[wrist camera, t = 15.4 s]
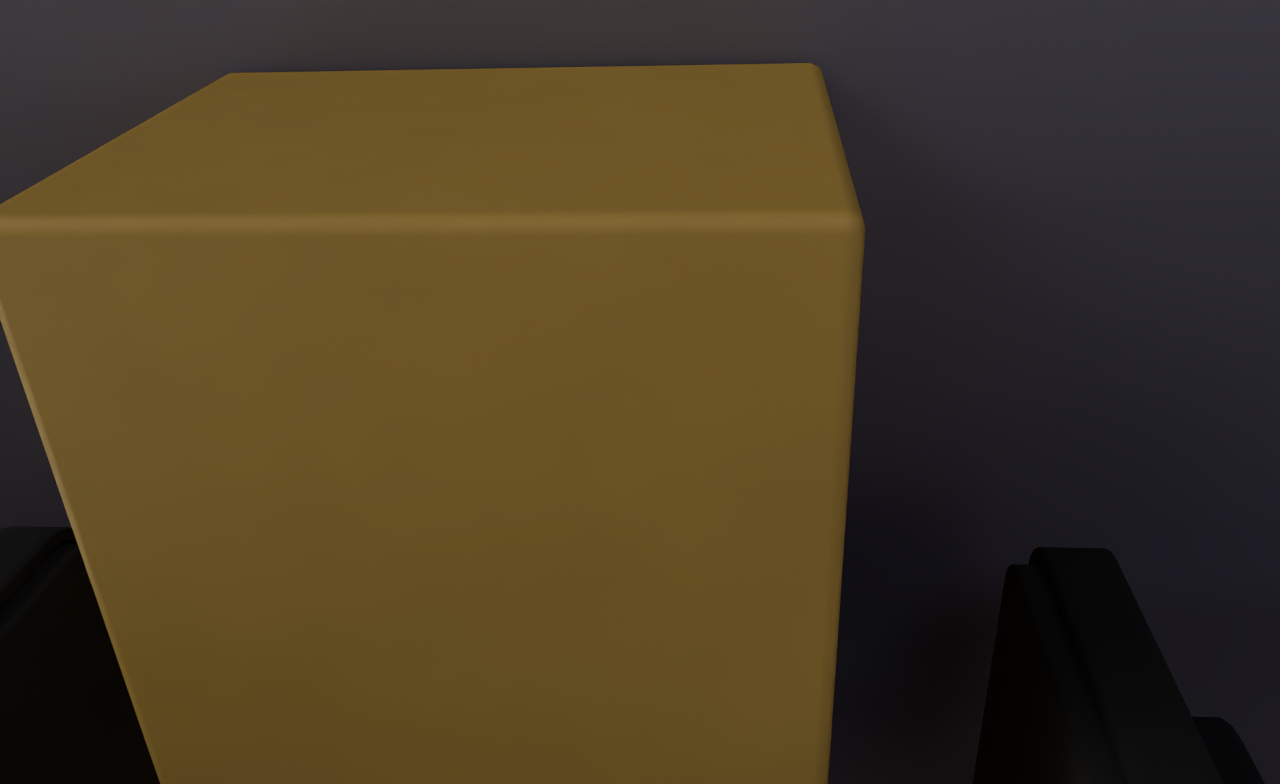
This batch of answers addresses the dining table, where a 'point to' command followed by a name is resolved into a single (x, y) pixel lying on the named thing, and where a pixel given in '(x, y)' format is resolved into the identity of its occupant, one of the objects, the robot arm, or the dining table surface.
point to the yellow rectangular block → (458, 420)
